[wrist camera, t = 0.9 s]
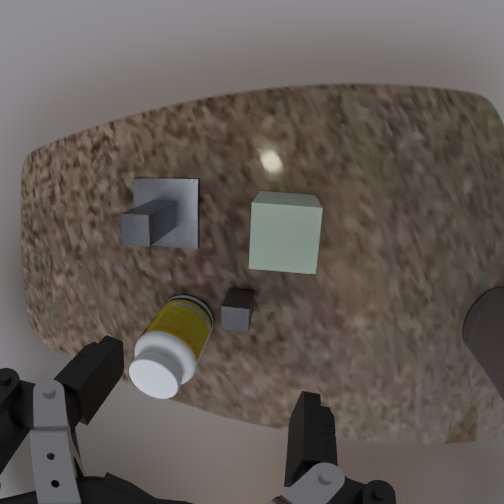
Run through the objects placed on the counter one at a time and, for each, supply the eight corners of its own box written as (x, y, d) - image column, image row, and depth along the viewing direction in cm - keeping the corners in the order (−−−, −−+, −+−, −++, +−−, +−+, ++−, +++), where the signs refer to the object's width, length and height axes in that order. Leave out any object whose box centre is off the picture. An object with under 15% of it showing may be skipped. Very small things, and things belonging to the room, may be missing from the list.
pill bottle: (163, 288, 33) (116, 344, 23) (216, 298, 33) (186, 362, 23) (163, 333, 36) (125, 394, 25) (213, 344, 35) (186, 411, 25)
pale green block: (315, 195, 28) (322, 207, 22) (310, 247, 30) (315, 274, 24) (260, 190, 29) (251, 202, 23) (257, 243, 30) (248, 268, 24)
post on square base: (199, 178, 29) (173, 187, 22) (199, 247, 31) (176, 274, 25) (135, 178, 30) (98, 187, 23) (138, 242, 32) (104, 265, 25)
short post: (254, 290, 32) (249, 309, 28) (252, 312, 33) (248, 332, 29) (229, 288, 32) (221, 306, 29) (228, 309, 33) (221, 329, 29)
